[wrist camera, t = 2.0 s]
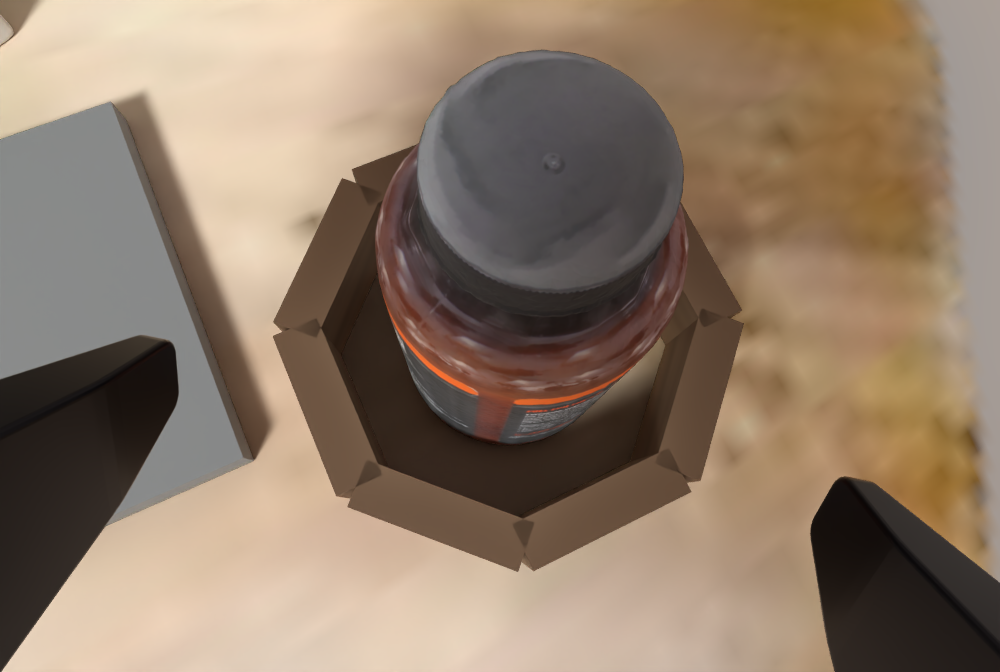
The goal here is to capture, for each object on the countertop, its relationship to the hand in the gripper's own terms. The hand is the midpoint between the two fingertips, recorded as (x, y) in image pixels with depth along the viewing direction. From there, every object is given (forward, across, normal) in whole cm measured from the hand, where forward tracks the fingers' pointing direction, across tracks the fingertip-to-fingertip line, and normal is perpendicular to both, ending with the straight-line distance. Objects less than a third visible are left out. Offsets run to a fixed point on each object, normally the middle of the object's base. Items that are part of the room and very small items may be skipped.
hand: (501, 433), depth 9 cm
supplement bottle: (+11, 0, +5) cm, 12 cm away
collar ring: (+10, 0, +5) cm, 12 cm away
